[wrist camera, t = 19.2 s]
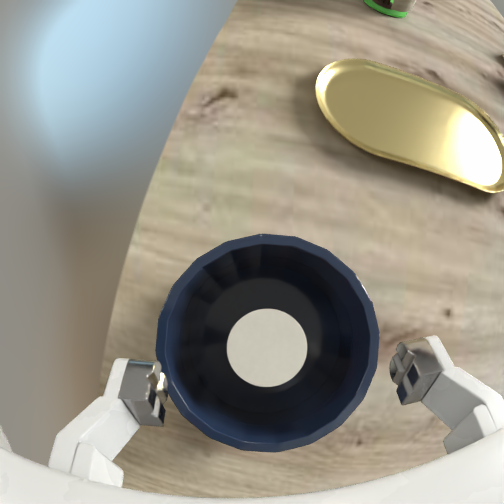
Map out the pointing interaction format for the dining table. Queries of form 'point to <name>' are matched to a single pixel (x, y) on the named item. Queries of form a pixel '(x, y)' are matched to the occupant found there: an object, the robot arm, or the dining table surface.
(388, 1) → the mushroom terrarium jar
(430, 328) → the dining table surface
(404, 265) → the dining table surface
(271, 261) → the pot
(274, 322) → the disc
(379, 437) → the dining table surface
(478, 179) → the serving platter
